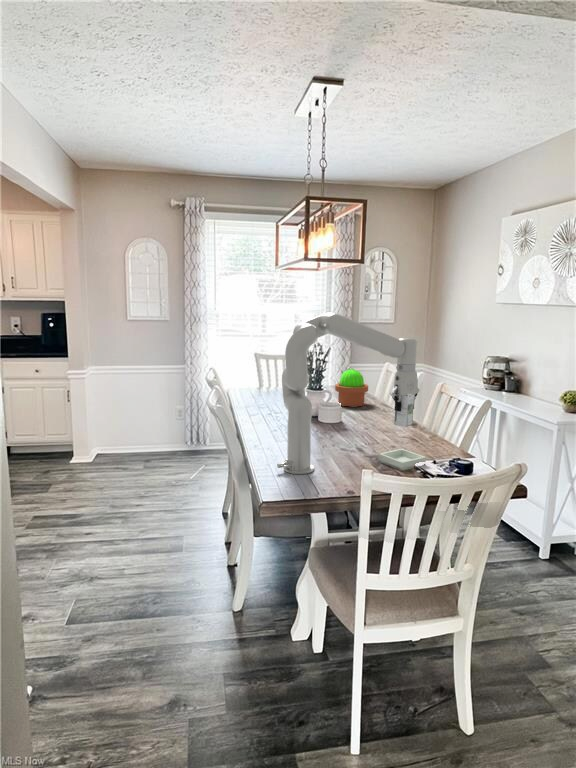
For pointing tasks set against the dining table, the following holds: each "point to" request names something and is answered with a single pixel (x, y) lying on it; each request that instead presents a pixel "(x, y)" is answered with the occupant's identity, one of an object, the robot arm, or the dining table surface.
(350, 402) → the potted cactus
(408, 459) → the tray
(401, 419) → the syrup box
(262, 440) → the dining table surface
